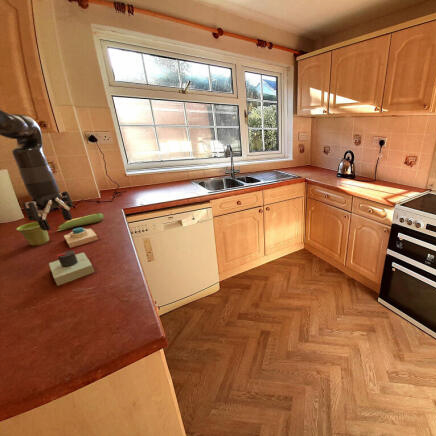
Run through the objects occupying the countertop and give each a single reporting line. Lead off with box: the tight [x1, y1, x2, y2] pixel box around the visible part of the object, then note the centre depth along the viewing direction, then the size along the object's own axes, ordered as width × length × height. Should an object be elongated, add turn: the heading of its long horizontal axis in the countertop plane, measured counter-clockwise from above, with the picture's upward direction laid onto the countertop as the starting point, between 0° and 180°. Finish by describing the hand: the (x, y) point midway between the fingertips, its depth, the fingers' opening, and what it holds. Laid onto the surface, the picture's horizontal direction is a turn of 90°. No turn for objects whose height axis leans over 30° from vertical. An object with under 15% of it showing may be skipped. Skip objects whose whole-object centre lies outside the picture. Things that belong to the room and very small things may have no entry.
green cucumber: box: [56, 212, 105, 232], centre depth 126 cm, size 5×20×5 cm, turn 135°
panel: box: [48, 251, 96, 287], centre depth 86 cm, size 14×10×3 cm
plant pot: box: [16, 221, 50, 247], centre depth 107 cm, size 9×9×9 cm
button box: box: [63, 228, 99, 249], centre depth 110 cm, size 12×10×4 cm
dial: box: [56, 250, 78, 267], centre depth 85 cm, size 4×4×4 cm
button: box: [72, 226, 84, 234], centre depth 109 cm, size 4×4×2 cm
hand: (58, 224), depth 86 cm, fingers open, 8 cm apart
